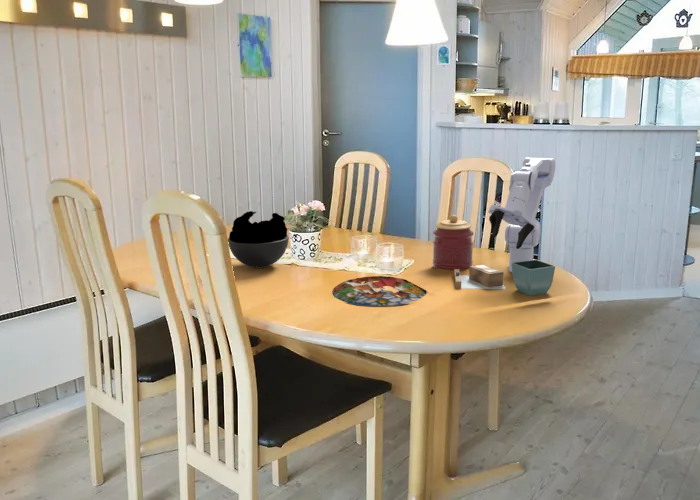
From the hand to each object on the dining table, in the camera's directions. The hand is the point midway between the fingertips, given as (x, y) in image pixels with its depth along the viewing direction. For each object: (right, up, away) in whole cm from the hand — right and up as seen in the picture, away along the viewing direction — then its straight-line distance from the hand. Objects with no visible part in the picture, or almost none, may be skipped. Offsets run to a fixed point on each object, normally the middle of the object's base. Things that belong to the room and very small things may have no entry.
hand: (506, 241), depth 185 cm
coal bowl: (-75, -8, +34) cm, 82 cm away
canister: (-11, -8, +30) cm, 33 cm away
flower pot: (+7, -15, -1) cm, 17 cm away
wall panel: (-6, -13, +9) cm, 17 cm away
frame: (-4, -12, +9) cm, 15 cm away
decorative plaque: (-36, -15, +5) cm, 39 cm away
